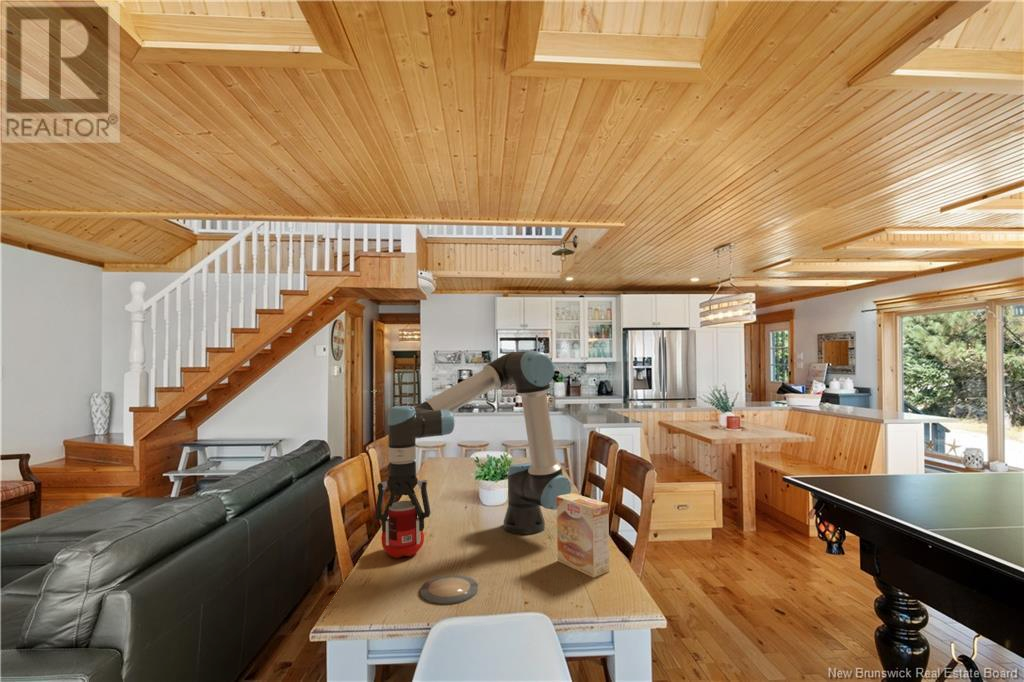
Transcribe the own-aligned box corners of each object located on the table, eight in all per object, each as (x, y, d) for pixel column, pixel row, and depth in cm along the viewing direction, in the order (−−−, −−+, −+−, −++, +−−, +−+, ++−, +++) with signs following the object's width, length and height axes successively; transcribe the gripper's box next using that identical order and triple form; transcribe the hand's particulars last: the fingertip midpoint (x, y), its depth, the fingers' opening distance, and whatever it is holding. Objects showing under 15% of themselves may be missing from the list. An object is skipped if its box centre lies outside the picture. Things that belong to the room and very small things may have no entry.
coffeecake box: (556, 561, 146) (555, 496, 147) (573, 555, 150) (572, 492, 151) (593, 578, 134) (592, 507, 135) (610, 571, 138) (609, 502, 139)
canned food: (422, 540, 138) (422, 501, 138) (407, 550, 130) (407, 509, 131) (399, 537, 141) (398, 499, 141) (383, 547, 133) (383, 507, 133)
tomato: (424, 560, 147) (424, 525, 148) (380, 564, 145) (380, 528, 145) (423, 544, 161) (423, 512, 161) (382, 547, 158) (382, 514, 158)
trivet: (478, 577, 135) (478, 573, 135) (476, 603, 120) (476, 599, 120) (424, 578, 135) (424, 575, 135) (416, 605, 120) (416, 601, 120)
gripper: (361, 465, 132) (362, 549, 131) (437, 462, 133) (438, 546, 132) (368, 459, 140) (369, 539, 139) (440, 457, 141) (441, 536, 140)
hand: (403, 542), depth 136 cm, fingers closed on canned food, 8 cm apart
